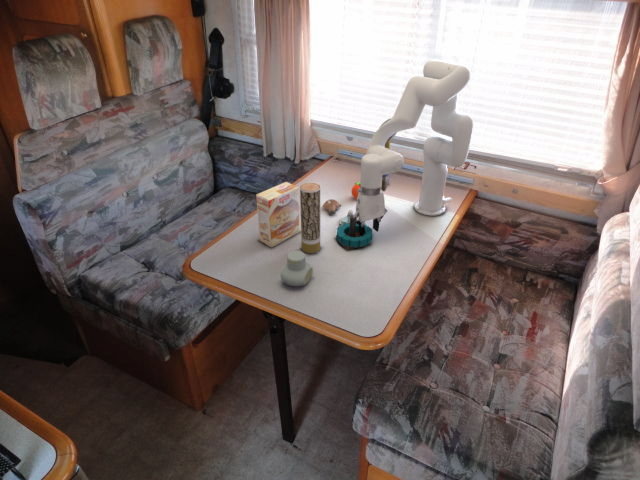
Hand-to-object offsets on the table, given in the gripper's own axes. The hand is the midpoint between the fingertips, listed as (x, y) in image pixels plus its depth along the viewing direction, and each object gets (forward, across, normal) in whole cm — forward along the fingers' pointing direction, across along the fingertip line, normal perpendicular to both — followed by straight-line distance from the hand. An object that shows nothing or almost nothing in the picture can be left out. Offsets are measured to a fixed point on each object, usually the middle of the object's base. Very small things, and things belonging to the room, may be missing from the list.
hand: (368, 231), depth 168 cm
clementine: (+3, +13, +30) cm, 33 cm away
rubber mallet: (+3, +31, +37) cm, 48 cm away
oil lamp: (+3, -3, +25) cm, 25 cm away
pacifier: (+3, -2, +13) cm, 13 cm away
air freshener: (+2, -35, -13) cm, 38 cm away
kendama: (+3, +12, +16) cm, 20 cm away
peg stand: (+2, -7, 0) cm, 8 cm away
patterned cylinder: (+2, -23, +2) cm, 23 cm away
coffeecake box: (+2, -30, +15) cm, 34 cm away
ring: (+1, -6, 0) cm, 6 cm away
